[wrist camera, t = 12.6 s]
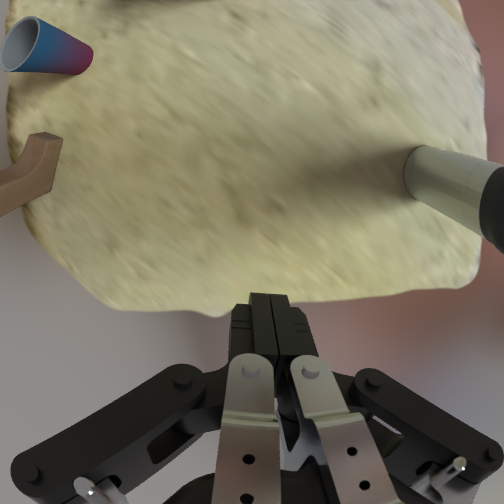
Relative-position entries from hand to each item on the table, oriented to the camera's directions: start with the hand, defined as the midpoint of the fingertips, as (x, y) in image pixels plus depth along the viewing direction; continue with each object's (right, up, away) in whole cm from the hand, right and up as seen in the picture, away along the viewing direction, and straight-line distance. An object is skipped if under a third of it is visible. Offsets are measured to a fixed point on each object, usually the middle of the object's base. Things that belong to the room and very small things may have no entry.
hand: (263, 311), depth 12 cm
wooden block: (-33, +17, +23) cm, 43 cm away
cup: (-26, +31, +17) cm, 44 cm away
